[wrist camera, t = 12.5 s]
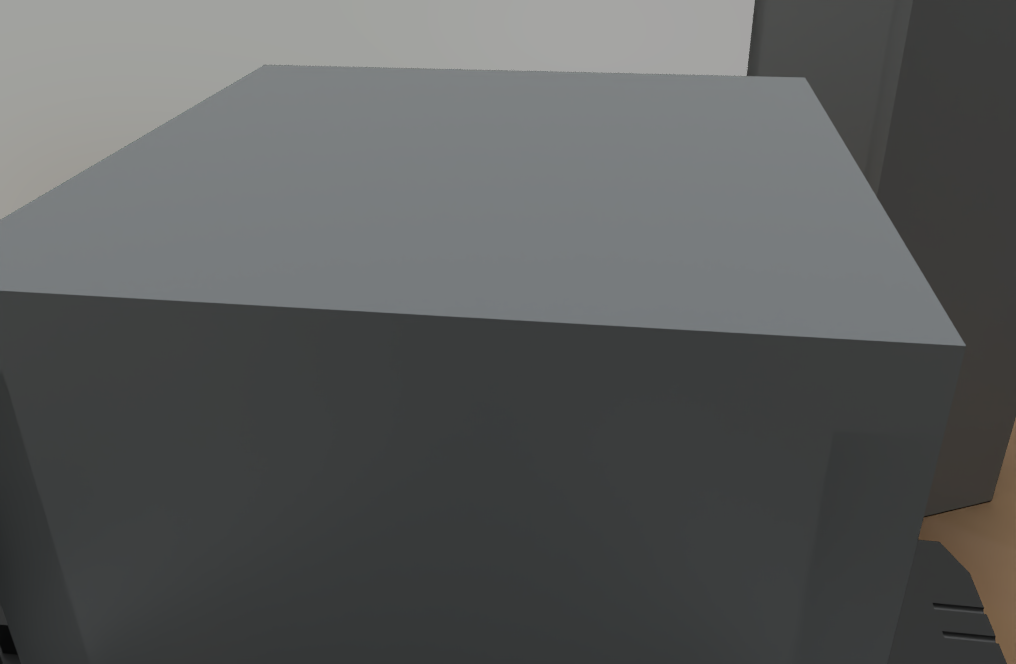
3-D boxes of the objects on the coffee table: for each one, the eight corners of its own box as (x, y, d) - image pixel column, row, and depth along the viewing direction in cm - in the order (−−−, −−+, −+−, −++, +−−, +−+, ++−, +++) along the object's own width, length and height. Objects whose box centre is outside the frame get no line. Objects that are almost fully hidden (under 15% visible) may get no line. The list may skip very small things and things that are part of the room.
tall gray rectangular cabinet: (863, 397, 35) (957, -74, 27) (991, 500, 29) (1150, -52, 22) (708, 427, 33) (762, -65, 26) (813, 542, 28) (920, -40, 20)
